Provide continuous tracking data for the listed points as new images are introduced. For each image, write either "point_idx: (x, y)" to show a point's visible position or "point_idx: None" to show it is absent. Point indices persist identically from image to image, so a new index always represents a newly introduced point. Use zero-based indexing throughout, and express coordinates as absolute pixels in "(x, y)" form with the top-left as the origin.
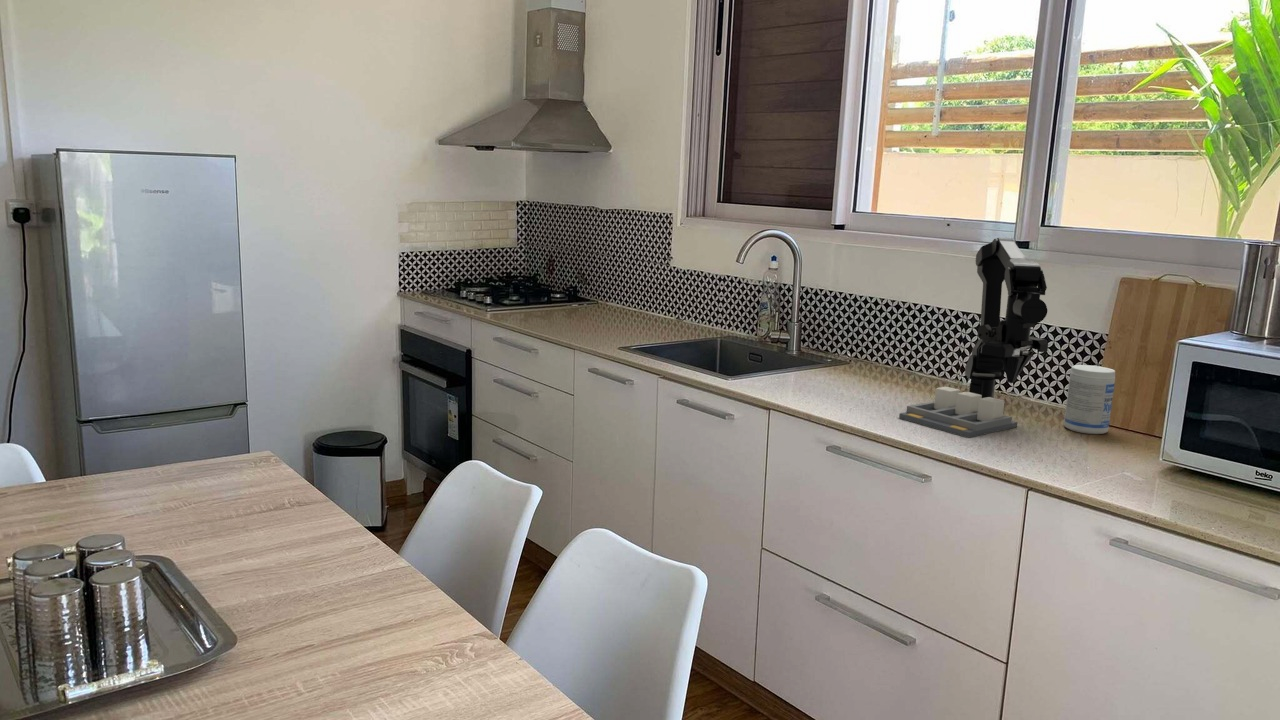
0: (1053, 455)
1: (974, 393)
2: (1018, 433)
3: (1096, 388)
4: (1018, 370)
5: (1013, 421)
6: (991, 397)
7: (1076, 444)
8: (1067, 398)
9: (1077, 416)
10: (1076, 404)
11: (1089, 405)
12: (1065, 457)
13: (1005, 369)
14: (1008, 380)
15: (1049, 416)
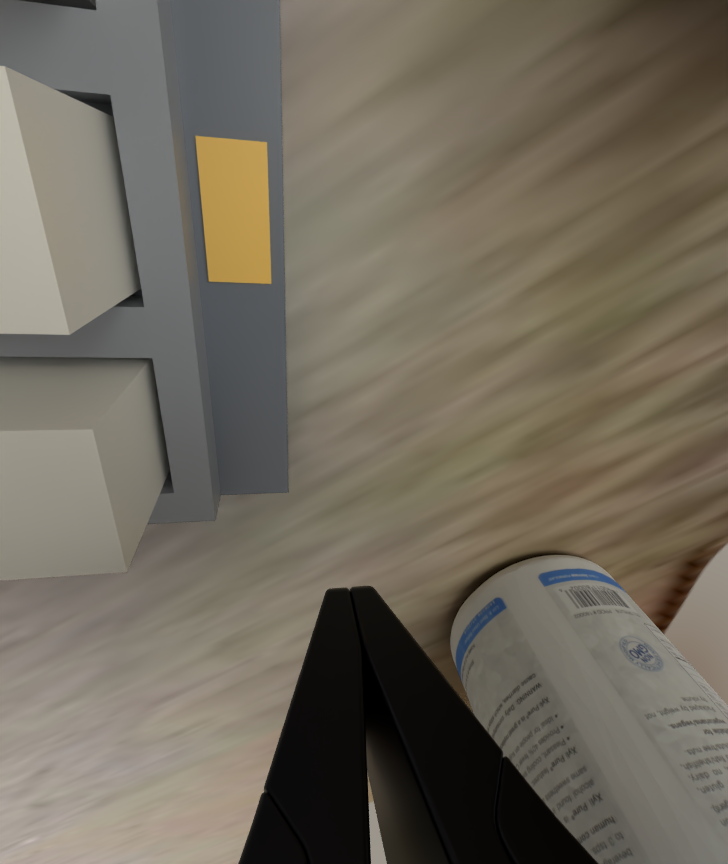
0: (19, 761)
1: (34, 221)
2: (173, 547)
3: None
4: (391, 862)
5: (277, 474)
6: (92, 457)
7: (267, 707)
8: (570, 703)
9: (472, 691)
10: (501, 745)
11: None
12: (49, 780)
13: (271, 777)
14: (319, 616)
15: (675, 423)
